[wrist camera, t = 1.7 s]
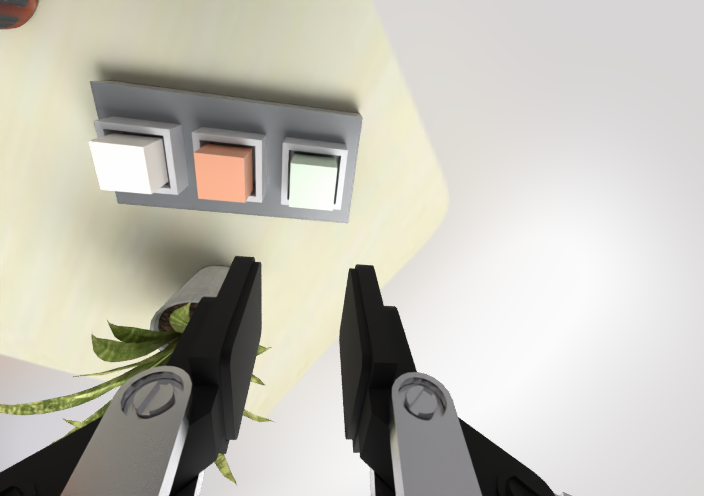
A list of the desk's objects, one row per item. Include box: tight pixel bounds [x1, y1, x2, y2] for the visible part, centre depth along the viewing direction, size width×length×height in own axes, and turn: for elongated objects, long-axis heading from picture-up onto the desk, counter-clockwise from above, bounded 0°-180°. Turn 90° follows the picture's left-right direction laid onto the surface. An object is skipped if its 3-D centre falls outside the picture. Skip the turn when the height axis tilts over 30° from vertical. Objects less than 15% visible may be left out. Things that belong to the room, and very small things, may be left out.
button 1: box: [89, 133, 168, 194], centre depth 20 cm, size 3×3×2 cm
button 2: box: [194, 144, 253, 203], centre depth 20 cm, size 3×3×2 cm
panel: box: [90, 80, 362, 223], centre depth 23 cm, size 8×17×4 cm, turn 82°
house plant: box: [0, 266, 271, 484], centre depth 23 cm, size 14×14×16 cm
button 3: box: [289, 153, 337, 211], centre depth 21 cm, size 3×3×2 cm
